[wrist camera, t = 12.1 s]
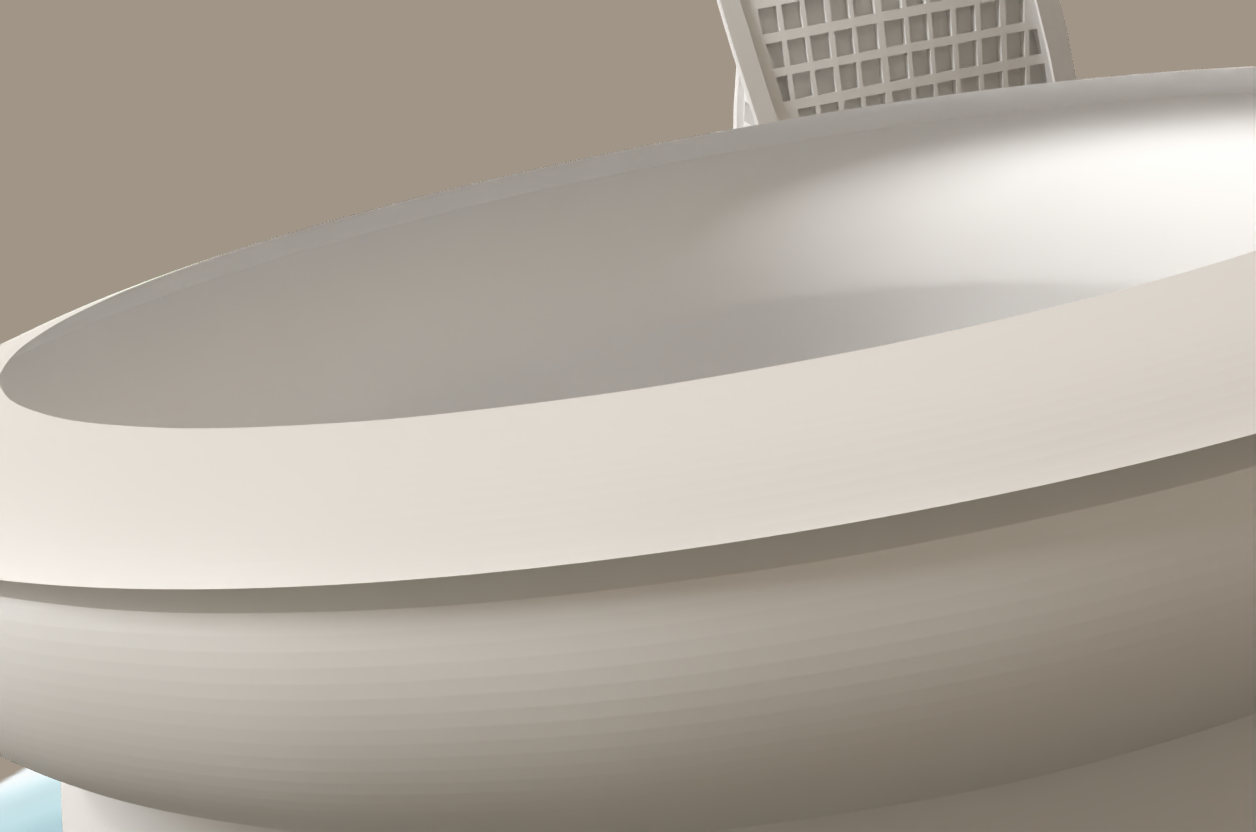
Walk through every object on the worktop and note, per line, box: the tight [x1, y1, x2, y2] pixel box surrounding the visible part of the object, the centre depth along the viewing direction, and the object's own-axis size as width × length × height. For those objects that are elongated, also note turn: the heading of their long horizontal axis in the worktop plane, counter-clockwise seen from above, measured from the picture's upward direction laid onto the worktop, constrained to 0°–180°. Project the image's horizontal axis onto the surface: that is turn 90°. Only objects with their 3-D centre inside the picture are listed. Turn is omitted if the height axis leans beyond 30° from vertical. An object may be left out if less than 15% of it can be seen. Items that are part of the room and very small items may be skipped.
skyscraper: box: [717, 0, 1076, 129], centre depth 22 cm, size 8×8×28 cm
